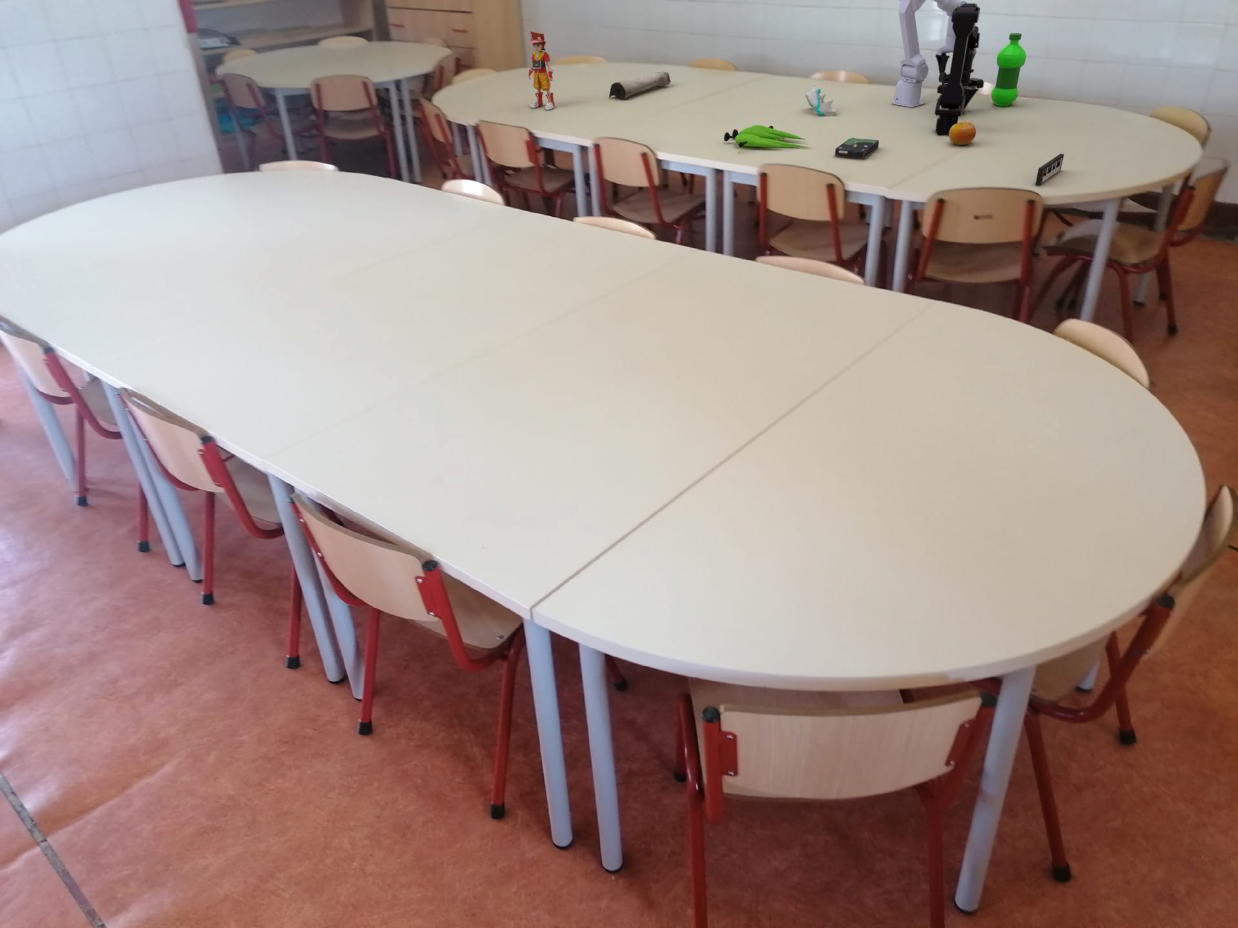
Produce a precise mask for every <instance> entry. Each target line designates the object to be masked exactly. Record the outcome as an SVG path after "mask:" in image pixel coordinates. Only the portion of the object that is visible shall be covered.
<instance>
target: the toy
mask: <svg viewBox="0 0 1238 928" xmlns="http://www.w3.org/2000/svg"><path fill="white" fill-rule="evenodd" d="M529 33H530V35H531V36H528V37H527V38H528V39H529V40H528V41H527V43H529V44H530V43H531V44H532V48H533V50H534V51H533V52H532V55H531V58H530V59H531V63H530V66H528V74H527V75H528V76H527V77H528V79H529V80H531V75H532V74H533V84H532V85H533V86H532V87H533V88H534V89H535V90H536V92H534V95H535V97H536V100H535V101H533V102H531V105H530V108H531V109H535V108H538V107H542V106H544V101H543V100H544V99H543V95H544V92H546V94H545V97H546V99H547V103H546V104H545V106H544V110H546V111H549V110H553V109H554V107H555V106H556V105H555V99H554V92H551V91H550V90H551V86H552V84H551V82H552V81H553V80H554V77H553V73H554V71H555V70H554V69H552V68H551V63H550V61H551V59H550V58H551V57H550V54H549V53H548V52H547V50H546V48H545V46H546V44H547V41H545V35H544V33H543V32H542V33H539V32H535V31H529Z"/></svg>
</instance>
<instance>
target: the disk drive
mask: <svg viewBox="0 0 1238 928" xmlns="http://www.w3.org/2000/svg"><path fill="white" fill-rule="evenodd" d="M879 145H880V140H879V139H870V138H869V139H868V138H855V137H850V138H848V139H846V140H845V141H844V142H843V143H841V144H840V145H838V146H837V147H835V151H834V156H836V157H842V158H849V159H865V158H867V157H868V156H870V155H871V154H872V153H873V152H875V151H876V150H877V149H878V148H879Z"/></svg>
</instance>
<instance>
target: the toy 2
mask: <svg viewBox="0 0 1238 928" xmlns="http://www.w3.org/2000/svg"><path fill="white" fill-rule="evenodd" d="M730 139H734V142H735V143H736V144H737V145H738V147H739V148H743V147H752V148H753V147H758V148H762V147H763V148H807V146H806V145H800V144H796V143H790V142H786V141H782V140H783V139H791V140H804V141H806V138H804V137H801V136H798V135H796V134H792V133H789V132H787V131H782V130H778V129H775V128H774V126H773V125H769V126H768V127H767V126H765V125H762V124H761V125H760V124H757V125H752V126H748V127H745V128H743V129H741V131H738V129H737V128H734V129H733V130H732V133H731V134H730V133H729V132H728V131H726V132H725V133H724V136H723V141H724V142H728V141H730Z"/></svg>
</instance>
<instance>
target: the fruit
mask: <svg viewBox="0 0 1238 928" xmlns="http://www.w3.org/2000/svg"><path fill="white" fill-rule="evenodd" d="M976 135H977V129H976V126H975V125H974V124H973V123H971V122H969V121H962V122H961V121H960V122H958V123H957V124H955V125H953V126H952V127H951V129H950V131H949V135H948V138H949V141H951V142H952V143H953V144H955V145H961V146H965V145H968V144H970V143H972V142H973V140H974V139H975V138H976Z"/></svg>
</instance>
